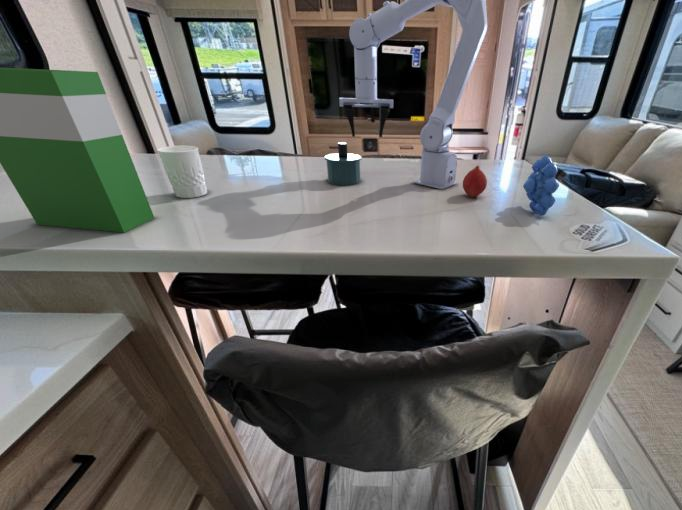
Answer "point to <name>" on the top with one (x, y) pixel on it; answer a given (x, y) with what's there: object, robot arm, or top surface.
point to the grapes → (542, 185)
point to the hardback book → (68, 151)
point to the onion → (474, 182)
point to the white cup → (184, 170)
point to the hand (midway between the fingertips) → (367, 136)
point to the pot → (343, 173)
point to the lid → (342, 155)
